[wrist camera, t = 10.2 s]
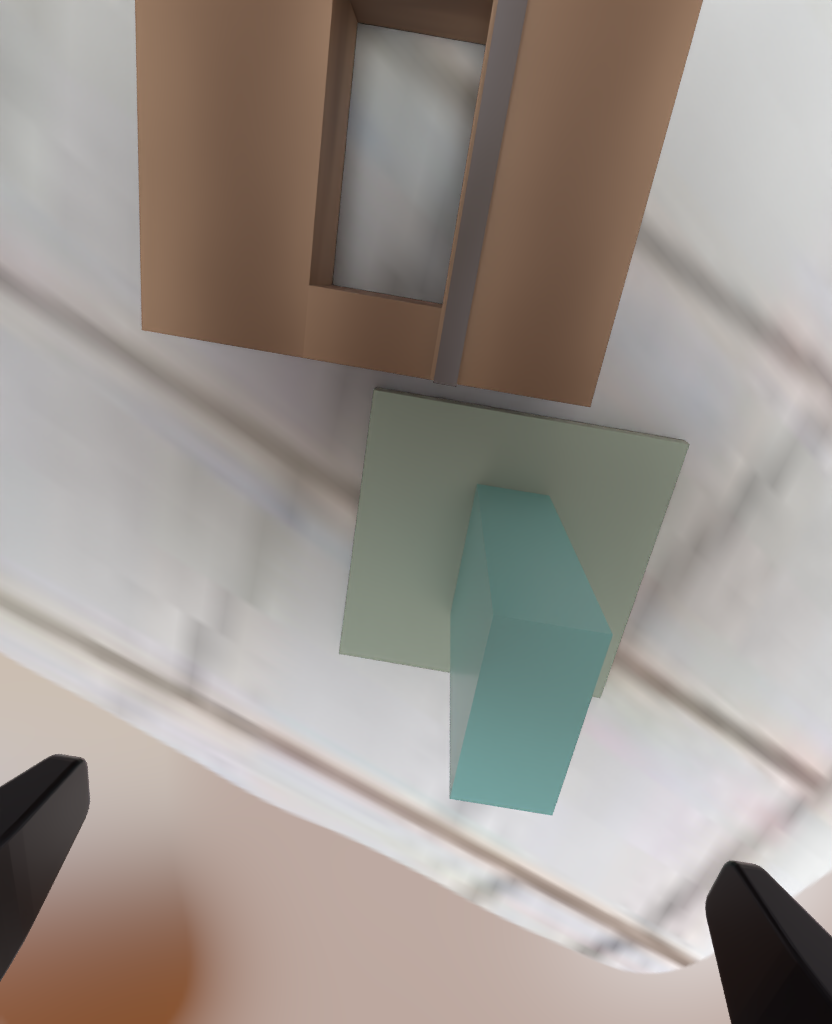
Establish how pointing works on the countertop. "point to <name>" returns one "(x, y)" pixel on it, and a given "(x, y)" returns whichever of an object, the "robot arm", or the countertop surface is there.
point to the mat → (448, 504)
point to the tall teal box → (519, 653)
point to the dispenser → (484, 197)
